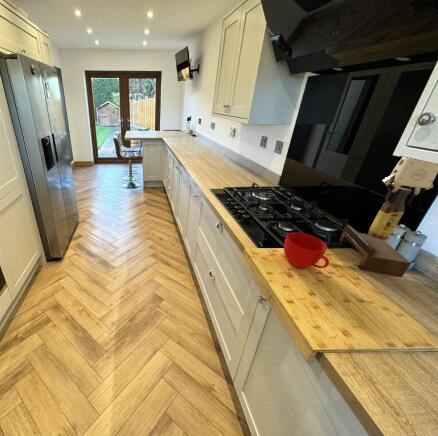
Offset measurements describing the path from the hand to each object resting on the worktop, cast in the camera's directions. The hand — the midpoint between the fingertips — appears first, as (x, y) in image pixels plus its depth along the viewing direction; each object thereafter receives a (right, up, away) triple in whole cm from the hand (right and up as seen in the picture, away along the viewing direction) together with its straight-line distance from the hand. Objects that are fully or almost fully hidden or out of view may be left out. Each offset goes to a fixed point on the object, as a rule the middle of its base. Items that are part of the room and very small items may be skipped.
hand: (396, 202), depth 87 cm
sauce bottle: (-1, -13, +7) cm, 15 cm away
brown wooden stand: (-3, -22, +9) cm, 24 cm away
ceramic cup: (-34, -24, +3) cm, 42 cm away
